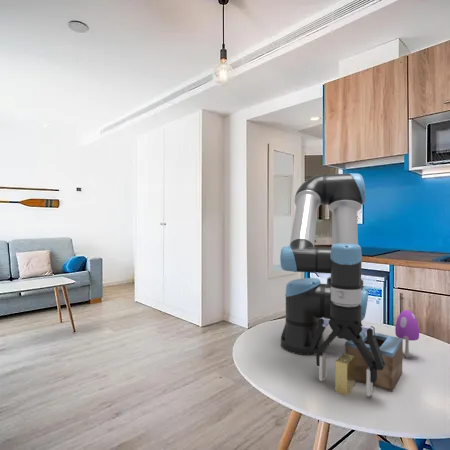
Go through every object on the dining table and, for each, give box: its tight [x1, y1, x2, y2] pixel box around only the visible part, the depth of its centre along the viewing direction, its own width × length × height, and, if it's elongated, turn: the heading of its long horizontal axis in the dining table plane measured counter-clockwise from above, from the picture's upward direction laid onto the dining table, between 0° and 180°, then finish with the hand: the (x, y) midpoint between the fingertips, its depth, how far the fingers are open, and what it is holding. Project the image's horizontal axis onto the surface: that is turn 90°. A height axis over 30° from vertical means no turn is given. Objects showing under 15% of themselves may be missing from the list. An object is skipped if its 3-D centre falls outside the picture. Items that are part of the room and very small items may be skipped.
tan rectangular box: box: [334, 352, 355, 396], centre depth 84 cm, size 3×6×8 cm, turn 141°
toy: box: [394, 309, 420, 358], centre depth 103 cm, size 7×7×15 cm
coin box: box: [344, 331, 404, 392], centre depth 92 cm, size 12×13×10 cm
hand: (345, 385), depth 84 cm, fingers open, 11 cm apart
